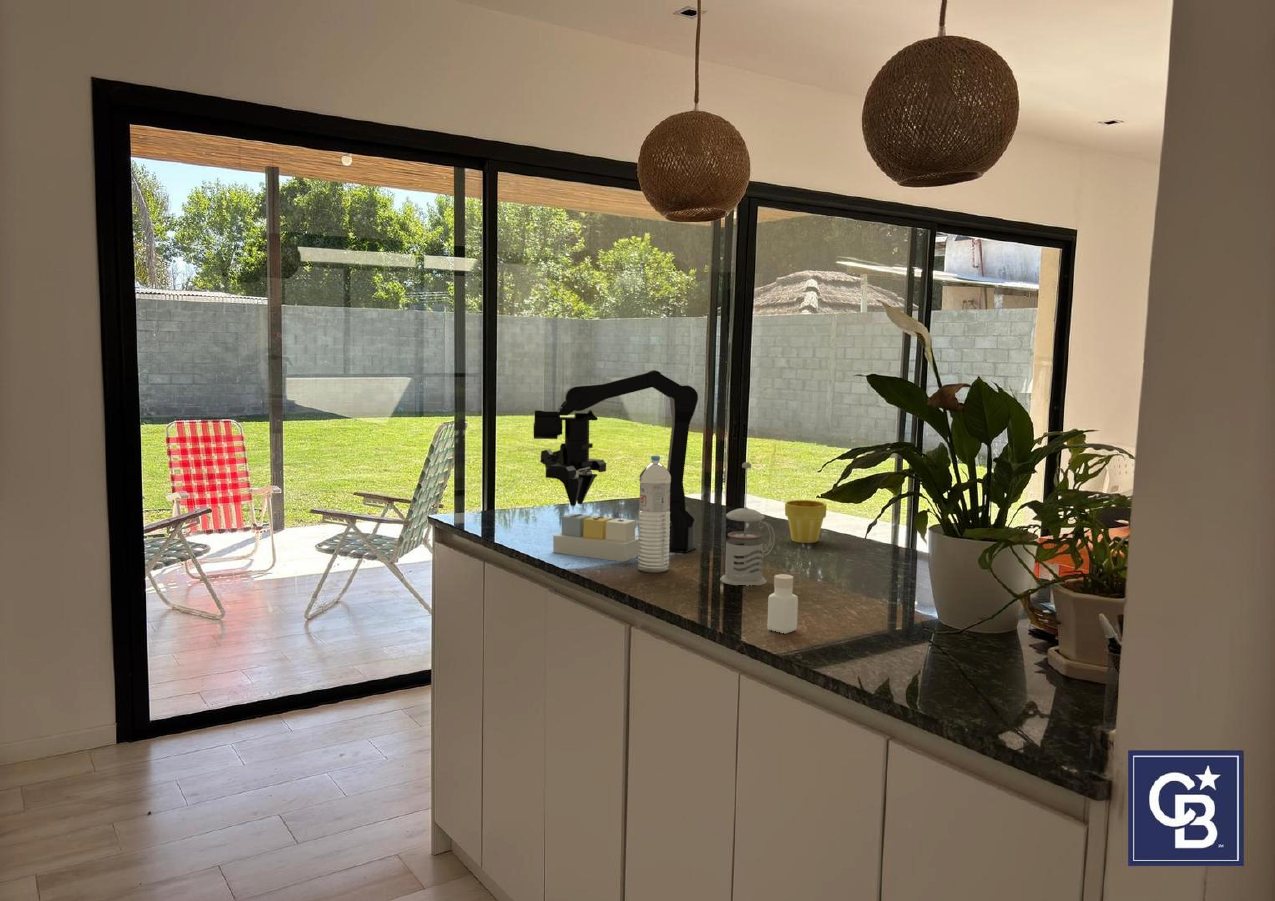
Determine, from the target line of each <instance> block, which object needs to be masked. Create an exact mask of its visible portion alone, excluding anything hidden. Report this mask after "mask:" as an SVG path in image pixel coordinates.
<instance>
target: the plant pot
mask: <svg viewBox="0 0 1275 901" xmlns="http://www.w3.org/2000/svg"><path fill="white" fill-rule="evenodd" d="M784 515H785V517H787V520H788V521H787V522H788V527H789V532H790V538H791V541H792V542H795V543H798V544H799V543H801V544H812V543H813V544H814V543H817V542H818V540H819V537H820V533H821V528H822V525H823V521H824V519H825V518H826V517H827V504H826V502H822V501H820V500H811V499H796V500H795V499H794V500H793V499H792V500H788V501H785V503H784Z"/></svg>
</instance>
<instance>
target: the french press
mask: <svg viewBox="0 0 1275 901" xmlns="http://www.w3.org/2000/svg"><path fill="white" fill-rule="evenodd" d="M741 467H742V468H743V469H746V470H745V499H744V501H745V502H744V507H743V508H736V509H734V510H731V511H729V512H727V513H726V514H725V517H726V518H727V519H728V520H732V521H738V522H744V527H746V526H747V525H746V524H747V522H758V527H759V529H763V528H764V525H765V526H766V527H767V528H768V533H769V541H768V544H767V547H766V548H765V549H764V542H763V541H761V542H760V539H761V538H762V536H763V535H762V534H761V533H759V532H754V531H748V530H747V531H746V529H744V530H739V531H731V532H729V533H727V537H728V538H730V539H726V540H725V564H724V565H725V566H724V567H725V569H724V574H723V575H722V576H721V577H720V579H719V581H721V580H722V581H721V582H722V583H724V584H727V585H733V586H738V585H746V586H745V587H753V586H752V585H756V586H761V585H765V584H766V583H767V579H766V578H765V577H764V576H763V562H764V561H763V559H764V557H765V556H767V555H769V554H770V553H771V552H772V550H773V548H774V545H775V540H776V535H775V531H774V528H773V527H772V526H771V524H770V523H768V522H767V521H763V520H764V519H765V517H766V516H765V515H764V514H762V513H761V512H759V511H757V510H755V509H752V508H748V507H747V491H748V490H747V486H748V484H747V482H748V469H751V468H752V464H751V463H750V462H747V461H745V462H743V463H742V465H741ZM761 523H762V526H761ZM771 531H772V533H771ZM772 535H773V537H772ZM772 539H773V540H772ZM771 541H772V545H771V548H770V547H769V546H770V544H771ZM739 544H744V545H739ZM769 548H770V550H769V551H768V549H769ZM766 551H768V552H766ZM764 553H765V554H764ZM741 556H743V557H744V558H743V557H741ZM736 557H737V558H736ZM759 569H760V570H759ZM749 585H751V586H749Z"/></svg>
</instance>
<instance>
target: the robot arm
mask: <svg viewBox="0 0 1275 901" xmlns="http://www.w3.org/2000/svg"><path fill="white" fill-rule="evenodd" d="M651 388H653V389H654V390H655V391H658V393H661V394H663V395H664V396H666V397H667V398H669V406H670V407H669V408H670V414H671V422H672V424H671V430H670V431H671V432H670V441H669V450H668V458H667V459H668V460H667V466H666V469H667V470H668V472H669V473H670V475H671V482H670V527H669V528H670V531H669V532H670V535H669V536H670V539H669V541H670V543H669V552H676V553H688V552H690V551H692V550H694V549H696V548H697V546H696V545H694V526H695V525H694V522H695V518H694V517H693V516H692V515H691V514H690V513H689V512H688V510H686V496H685V495H686V494H685V488H684V474H685V464H686V457H687V456H686V455H687V449H688V440H689V439H688V438H689V430H690V424H691V421H692V419H693V416H694V414H695V411H696V408H697V404H698V400H699V395H698V391H697V390H696V389H695V388H694V387H692V386H691V385H687V384H679V383H678V382H676V381H674V380H672V379H671V378H669V377H667V376H665V375H663V374H662V373H661V372H660V371H659V370H654V369H650V370H647V371H646V372H643V373H639V374H635V375H630V376H626V377H623V378H620V379H615V380H610V381H608V382H603V383H596V384H594V383H593V384H592V383H591V384H578V385H577V384H576V385H573V386H570V387H569V388H568V389H567V390H566V391H565V395H564V401H563V402H562V403H561V405H560V406H558V409H557V410H543V409H534V420H533V421H534V422H533V440H557V439H558V437H559V436H561V435H563V421H564V442H563V443H561V444H560V446H559V447H560V448H559V450H555V451H552V450H551V449H544V450H541V452H540V463H541V464H543V465H545V478H547V479H556V480H558V481H560V482H561V483H562V485H563V486H564V489H565V492H566V495H567V498H568V502H569V505H570V506H572V507H575V506H576V504H578V505H583V503H584V500H585V499H586V496H587V495H588V493H589V490H590V488H591V487H592V485H593V483H594V481H595V478H597V477H598V474H597V473H593V471H598V473H605V472H607V463H606V461H605V460H604V459H600V458H599V459H597V458H590V449H593V446H594V444H593V443H592V442H591V443H590V421H597V420H598V418H599V417H597V416H596V415H595V414H594V413H593V411H592V410H591V409H589V410H588V411H587V412H581V411H584V410H586V409H588V408H591V407H593V406H595V405H598V404H599V403H601V402H603V401H605V400H607V399H611V398H616V397H619V396H623V395H626V394H630V393H635V392H639V391H643V390H646V389H651ZM573 412H575V413H574V415H573V416H569V415H571V414H572V413H573Z"/></svg>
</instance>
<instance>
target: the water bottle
mask: <svg viewBox="0 0 1275 901" xmlns="http://www.w3.org/2000/svg"><path fill="white" fill-rule="evenodd" d="M650 460H651V462H650V463H649V464H647V465H646V466H645V467H644V468H643V469H642V471H641V472H640V474H639V479H638V480H639V505H638V506H639V510H638V533H637V534H638V536H637V537H638V539H639V540H638V556H637V567H638V570H639V571H642V572H644V573H649V574H650V573H652V574H653V573H654V574H655V573H656V574H657V573H664V572H666V571H668V570H669V567H670V551H669V543H670V541H669V539H670V536H669V535H670V532H669V531H670V528H669V527H670V482H671V475H670V473H669V472H668V470H667V467H665V466H664V465H663V464H661V463H660V460H661V456H660V455H651V458H650Z"/></svg>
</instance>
